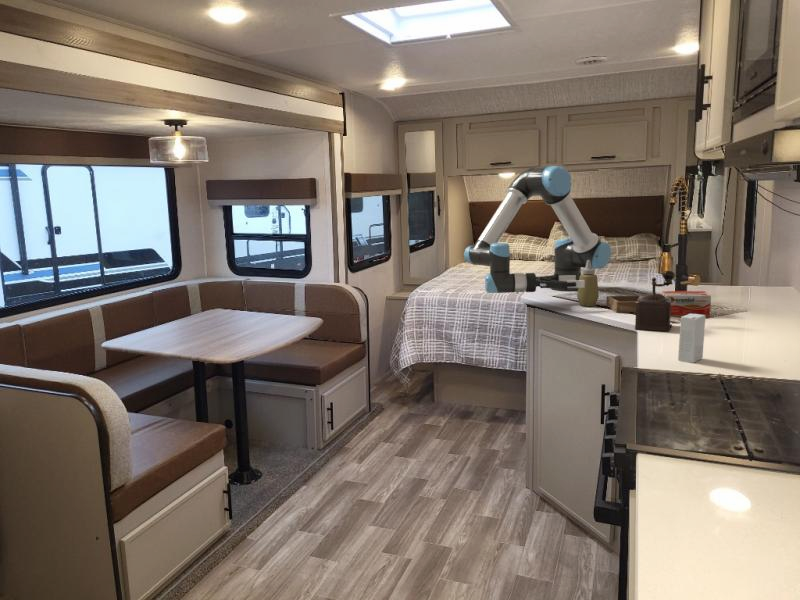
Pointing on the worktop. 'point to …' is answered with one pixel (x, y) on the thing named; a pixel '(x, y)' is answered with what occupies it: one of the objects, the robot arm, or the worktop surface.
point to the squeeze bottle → (588, 287)
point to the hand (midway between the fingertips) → (579, 281)
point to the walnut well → (622, 303)
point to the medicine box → (689, 302)
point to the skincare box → (691, 338)
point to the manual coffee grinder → (655, 308)
